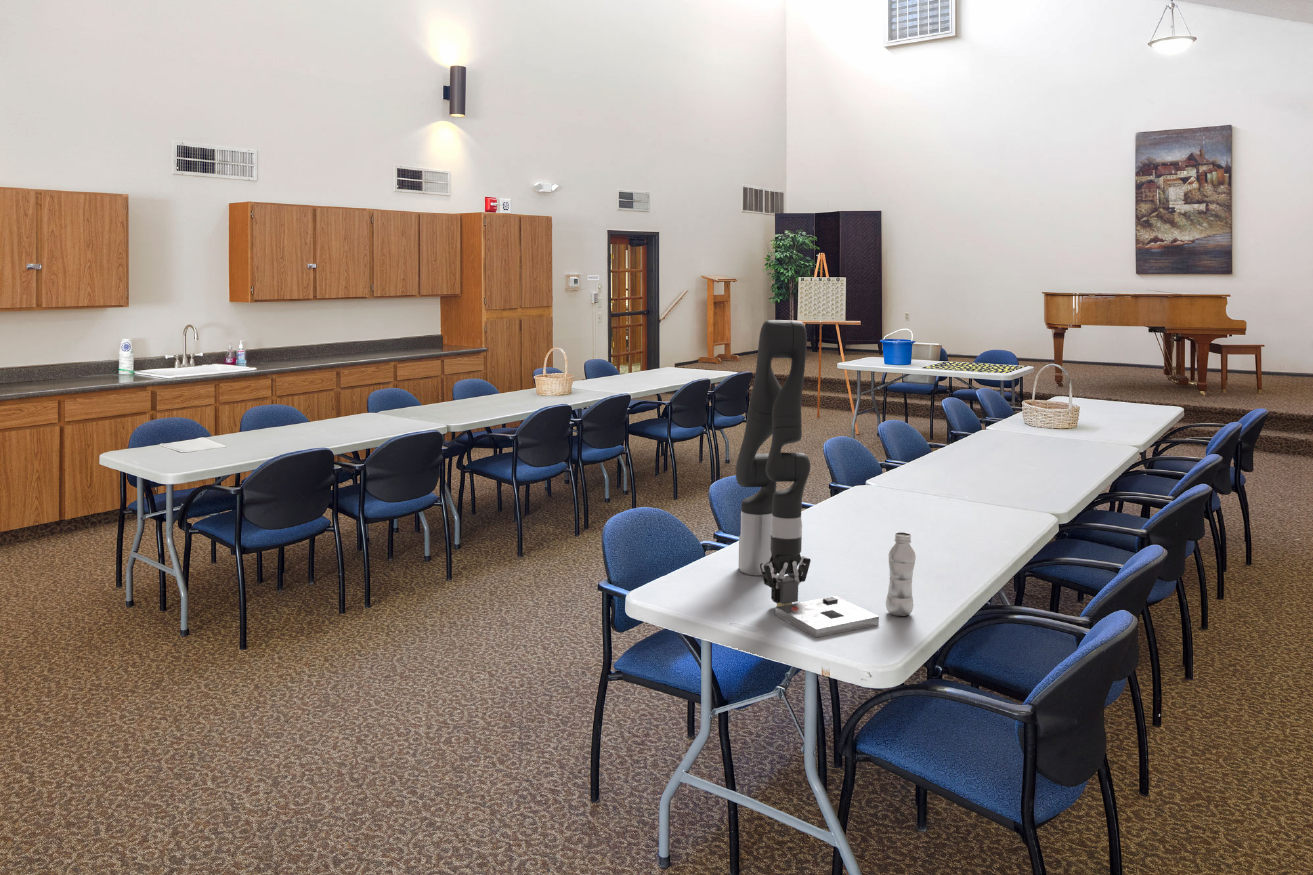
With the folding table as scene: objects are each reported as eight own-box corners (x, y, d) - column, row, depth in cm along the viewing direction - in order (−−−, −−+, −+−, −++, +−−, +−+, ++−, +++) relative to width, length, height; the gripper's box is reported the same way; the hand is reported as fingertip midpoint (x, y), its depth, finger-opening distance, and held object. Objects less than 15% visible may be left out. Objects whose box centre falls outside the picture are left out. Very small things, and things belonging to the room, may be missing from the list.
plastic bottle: (907, 609, 218) (911, 530, 215) (916, 619, 211) (921, 537, 208) (881, 609, 218) (885, 530, 215) (889, 619, 211) (893, 538, 208)
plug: (771, 605, 220) (771, 576, 219) (785, 602, 222) (786, 573, 221) (782, 611, 216) (783, 581, 215) (797, 609, 218) (798, 579, 217)
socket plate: (775, 615, 214) (775, 603, 213) (835, 603, 222) (835, 592, 221) (816, 637, 200) (816, 625, 199) (878, 624, 208) (879, 613, 207)
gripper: (800, 526, 223) (799, 591, 225) (753, 533, 216) (751, 600, 219) (819, 533, 216) (817, 600, 219) (770, 540, 210) (769, 609, 212)
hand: (784, 600), depth 219 cm, fingers closed on plug, 4 cm apart
